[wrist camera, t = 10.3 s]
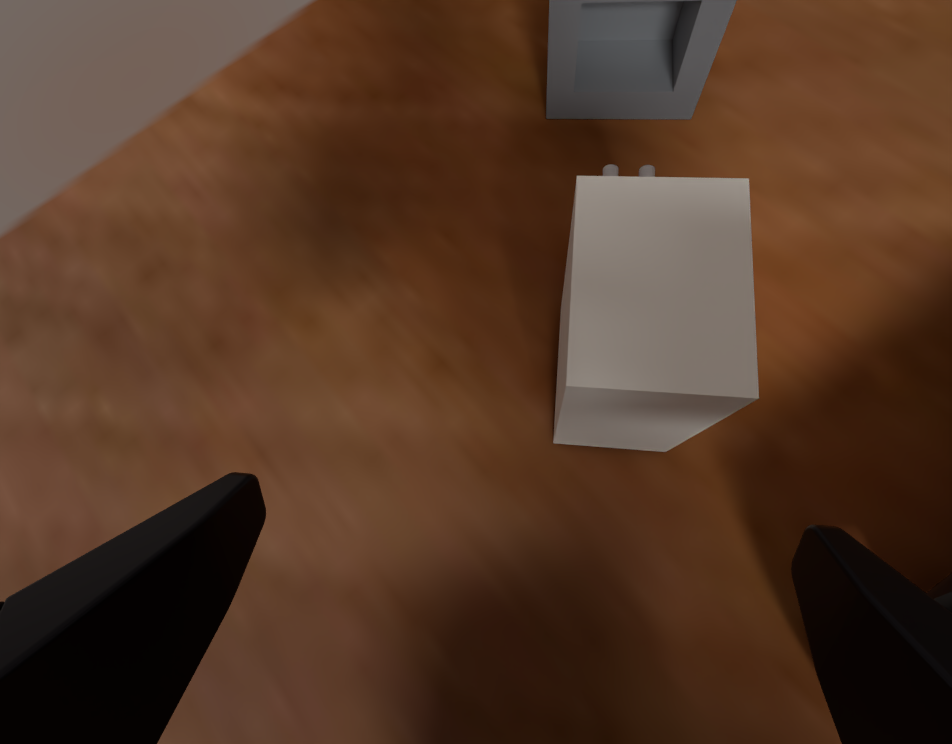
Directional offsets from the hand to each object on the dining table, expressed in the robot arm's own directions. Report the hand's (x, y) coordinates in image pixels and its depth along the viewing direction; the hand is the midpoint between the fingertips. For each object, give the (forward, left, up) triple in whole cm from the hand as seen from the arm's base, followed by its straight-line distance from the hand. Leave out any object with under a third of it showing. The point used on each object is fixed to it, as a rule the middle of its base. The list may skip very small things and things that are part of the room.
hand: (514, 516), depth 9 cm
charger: (+9, +1, -13) cm, 16 cm away
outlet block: (+21, +6, -14) cm, 26 cm away
